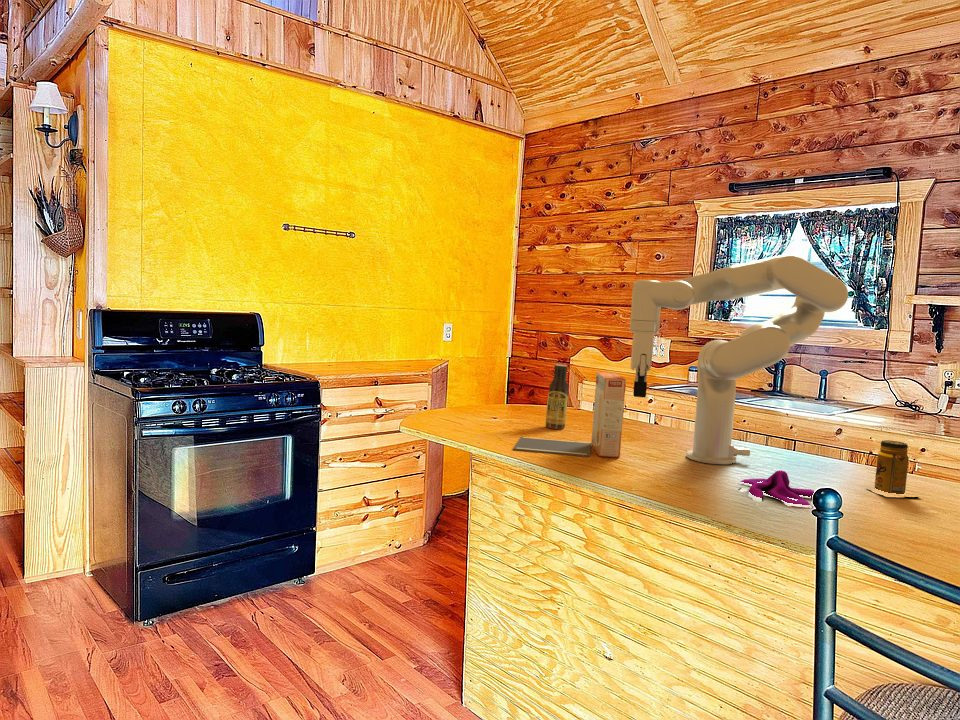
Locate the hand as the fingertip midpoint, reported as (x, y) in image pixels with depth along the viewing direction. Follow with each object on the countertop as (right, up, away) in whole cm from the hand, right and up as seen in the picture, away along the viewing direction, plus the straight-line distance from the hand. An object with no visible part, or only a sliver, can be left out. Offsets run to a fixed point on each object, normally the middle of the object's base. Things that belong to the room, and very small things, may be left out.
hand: (639, 396), depth 183 cm
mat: (-22, -14, +5) cm, 27 cm away
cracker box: (-9, -15, +3) cm, 18 cm away
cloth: (+22, -21, -32) cm, 44 cm away
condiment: (+52, -21, -26) cm, 61 cm away
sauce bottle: (-19, -12, +33) cm, 40 cm away
